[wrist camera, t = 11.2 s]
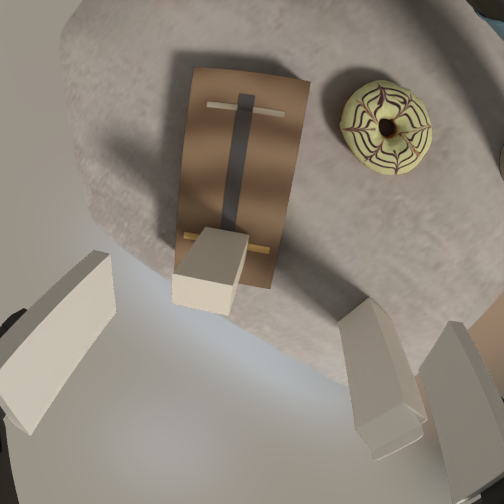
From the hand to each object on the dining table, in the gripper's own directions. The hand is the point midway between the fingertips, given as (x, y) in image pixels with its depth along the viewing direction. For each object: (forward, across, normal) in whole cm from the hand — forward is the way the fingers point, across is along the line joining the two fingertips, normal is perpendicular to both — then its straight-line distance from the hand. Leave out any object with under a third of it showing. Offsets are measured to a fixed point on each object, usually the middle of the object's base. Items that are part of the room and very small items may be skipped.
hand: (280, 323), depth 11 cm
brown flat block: (+27, -6, -2) cm, 28 cm away
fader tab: (+23, -6, -9) cm, 25 cm away
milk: (+27, +15, -19) cm, 36 cm away
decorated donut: (+28, +10, +8) cm, 31 cm away
